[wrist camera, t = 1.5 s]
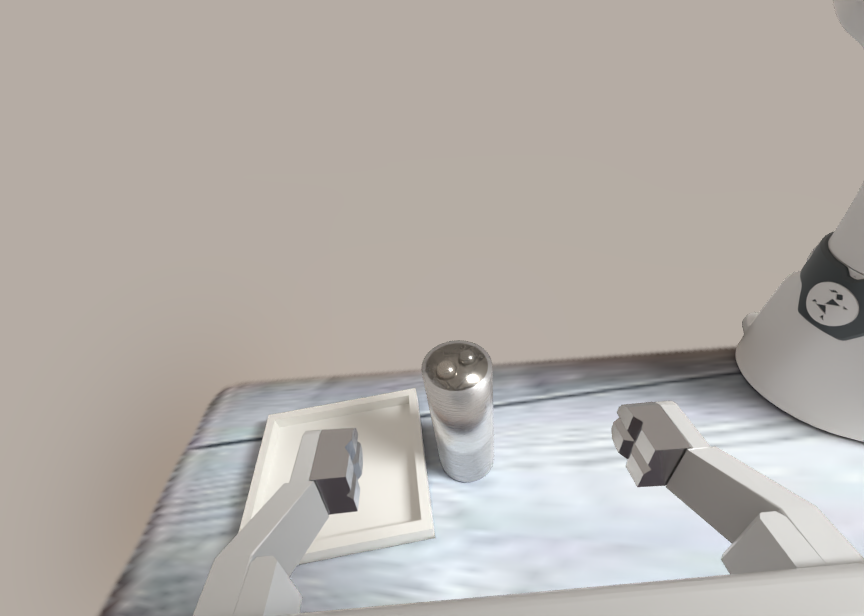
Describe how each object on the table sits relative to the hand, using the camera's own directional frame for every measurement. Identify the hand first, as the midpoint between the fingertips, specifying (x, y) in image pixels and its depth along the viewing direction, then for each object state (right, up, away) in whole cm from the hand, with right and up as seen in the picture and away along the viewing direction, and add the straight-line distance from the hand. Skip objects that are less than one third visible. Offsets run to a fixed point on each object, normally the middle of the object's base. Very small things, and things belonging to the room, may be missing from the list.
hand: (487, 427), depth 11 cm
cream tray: (-10, -12, +24) cm, 29 cm away
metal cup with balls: (+2, -11, +24) cm, 26 cm away
